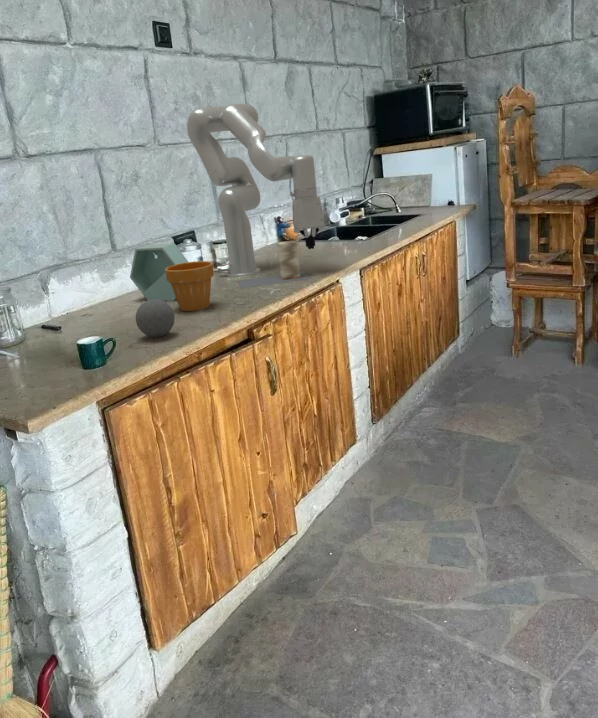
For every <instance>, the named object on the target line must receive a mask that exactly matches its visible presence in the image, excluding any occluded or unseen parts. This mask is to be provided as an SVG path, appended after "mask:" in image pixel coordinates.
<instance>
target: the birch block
mask: <svg viewBox="0 0 598 718" xmlns="http://www.w3.org/2000/svg"><path fill="white" fill-rule="evenodd" d="M276 250H277V257H278V267H279V275H280V277H281V278H282V279H283V280H287V279H294V278H300V272H301V270H300V269H301V268H300V261H299V260H300V259H299V252H298V251H299V250H298V242H297V241H296V240H288V241H287V240H286V241H279V242H278V241H277V242H276Z"/></svg>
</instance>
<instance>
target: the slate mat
mask: <svg viewBox="0 0 598 718" xmlns="http://www.w3.org/2000/svg"><path fill="white" fill-rule="evenodd" d="M311 279H312V277H310V275H308V274H307V273H306V272H305V271H300V278H294V279H287V280H283V279H282V278H281V277H280V274H276V275H269V276H262V277H255V278H247V279H240V280H236V283H237V284H238V286H239V288H240V289H247V288H254V287H261V286H268V285H274V284H283V283H289V282H298V281H305V280H311Z"/></svg>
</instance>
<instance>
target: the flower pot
mask: <svg viewBox="0 0 598 718" xmlns="http://www.w3.org/2000/svg"><path fill="white" fill-rule="evenodd" d="M165 272H166V278H167V281H168V282H170V283H171V286H172V288H173V291H174V294H175V297H176V301H177V304H178V307H179V309H180V310H181V311H182V312H183V311H184V312H194V311H195V310H196V311H199V310H204V308H205V309H206V308H207V309H208V308H209V306H210V301H211V288H212V286H211V285H212V278H213V277H214V274H215V273H214V264H213V262H211V261H206V260H201V261H200V260H199V261H188V262H186V263H180V264H176V265H172V266H169V267H167V268H166V269H165Z"/></svg>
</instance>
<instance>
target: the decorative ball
mask: <svg viewBox="0 0 598 718" xmlns="http://www.w3.org/2000/svg"><path fill="white" fill-rule="evenodd" d="M136 310H137V311H136V313H135V323H136V326H137V327H138V329H139V330H140V332H141V333H142V334H143V335H145V336H147V337H151V338H159V337H164V336H165V335H167V334H169V332H170V331H171V330H172V329H173V327H174V325H175V321H176V320H175V313H174V310H173V307H172V306H170V304H168V303H167V302H166V301H162V300H159V299H151V300H147V299H146V300H145V301H144V302H142V303H141V304H140V305H139V307H138V309H136Z"/></svg>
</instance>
